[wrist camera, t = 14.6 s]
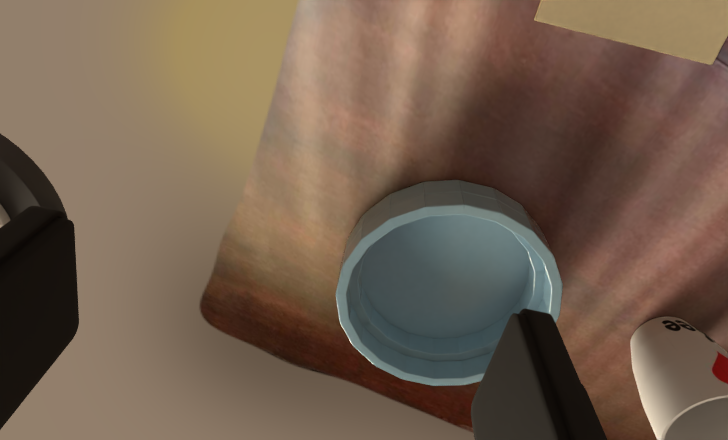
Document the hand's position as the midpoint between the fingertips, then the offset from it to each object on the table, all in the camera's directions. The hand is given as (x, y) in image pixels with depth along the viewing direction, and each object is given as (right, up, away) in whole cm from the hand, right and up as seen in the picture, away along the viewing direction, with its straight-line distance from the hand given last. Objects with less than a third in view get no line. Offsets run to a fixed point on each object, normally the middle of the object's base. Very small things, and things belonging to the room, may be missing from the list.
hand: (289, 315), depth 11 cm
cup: (+27, -8, +34) cm, 45 cm away
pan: (+8, -2, +32) cm, 33 cm away
